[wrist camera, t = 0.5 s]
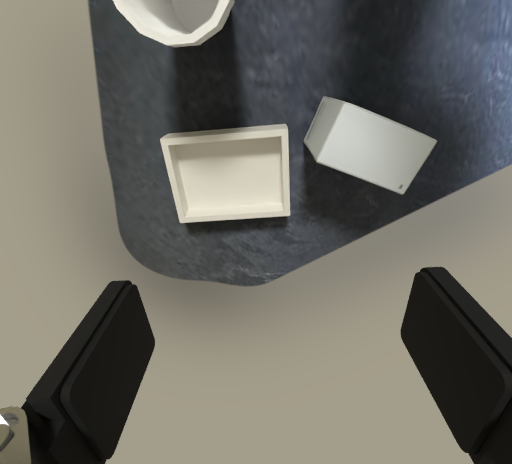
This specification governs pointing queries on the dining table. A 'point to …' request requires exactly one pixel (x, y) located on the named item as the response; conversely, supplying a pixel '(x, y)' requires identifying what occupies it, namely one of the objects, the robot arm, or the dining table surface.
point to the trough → (229, 173)
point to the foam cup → (176, 19)
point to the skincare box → (367, 145)
